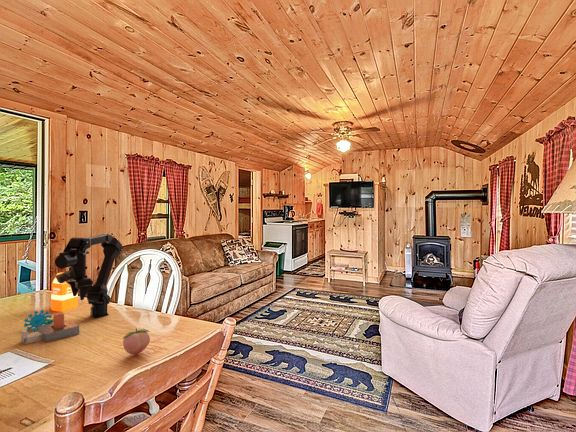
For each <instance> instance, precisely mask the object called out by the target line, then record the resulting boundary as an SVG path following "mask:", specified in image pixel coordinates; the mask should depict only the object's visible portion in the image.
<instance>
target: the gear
mask: <svg viewBox="0 0 576 432" xmlns="http://www.w3.org/2000/svg"><path fill="white" fill-rule="evenodd" d="M39 311H40V312H39ZM39 311H38V310H35V311H34V312H33V313H34V315H33V314H32V313H29V314H28V315H27V316H28V318H29V319H28V318H27V317H26V318H25V319H24V320H23V321H24V322H25V323H24V324H23V326H24V328H26V329H27V330H26V331H31V332H32V333H36V332H37V327H38V326H43V325H47V324H52V323H53V317H52V316H53V315H52V314H50V312H49V310H47V311H46V312H45V310H43V309H41V310H39ZM48 318H49V319H48ZM51 318H52V319H51Z"/></svg>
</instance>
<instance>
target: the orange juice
mask: <svg viewBox="0 0 576 432" xmlns="http://www.w3.org/2000/svg"><path fill="white" fill-rule="evenodd" d="M63 272H64V271H63ZM63 272H58V273H56V275H59V274H61V273H63ZM78 293H79V292H78ZM78 293H77V295H76V296H73V293H72V290H71V287H70V285H69V284H68V283H66V281H65V282H64V283H61V284H60V283H58V281H57V279H56V277H54V279H53V280H52V282H51V295H50V296H51V298H50V299H51V311H54V312H58V313H60V312H62V313H64V312H66V311H69V310H73V309H75V308H78V297H79V296H78Z"/></svg>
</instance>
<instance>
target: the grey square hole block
mask: <svg viewBox="0 0 576 432" xmlns="http://www.w3.org/2000/svg"><path fill="white" fill-rule="evenodd" d="M36 332H41V333H42V334H43V340H42V341H43V342H44V343H49V342H53V341H57V340H62V339H65V338H68V337H73V336H77V335H80V325H79V324H78V323H76V322H74V321H73V320H72V319H66V320H65V319H64V327H61V328H57V329H53V323H52V324H47V325H45V324H43V325H42V326H38V327H37V329H36Z"/></svg>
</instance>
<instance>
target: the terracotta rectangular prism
mask: <svg viewBox="0 0 576 432" xmlns="http://www.w3.org/2000/svg"><path fill="white" fill-rule="evenodd" d="M52 316H53V317H52V319H53V329H57V328H61V327H64V321H65V313H64V312H55V313H53V315H52Z"/></svg>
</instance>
